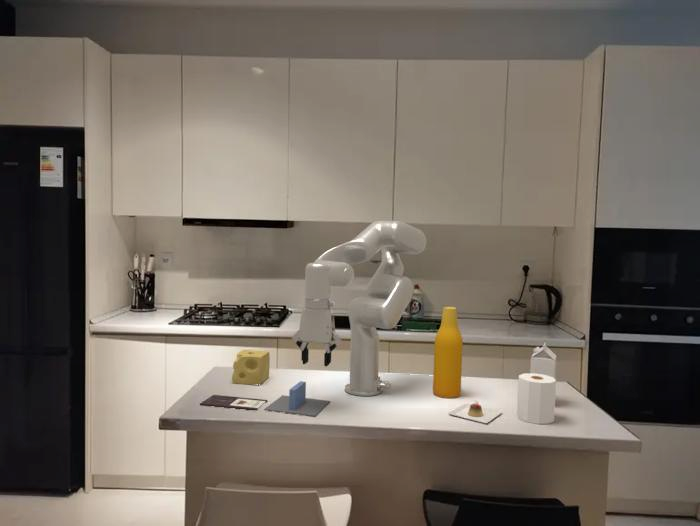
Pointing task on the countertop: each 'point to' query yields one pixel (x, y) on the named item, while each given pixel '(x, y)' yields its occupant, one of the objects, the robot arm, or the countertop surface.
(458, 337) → the beer bottle
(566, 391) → the countertop surface
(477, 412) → the dessert
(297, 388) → the card box
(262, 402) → the chocolate bar
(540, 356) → the milk carton
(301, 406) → the mat
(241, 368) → the cheese
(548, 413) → the toilet paper
